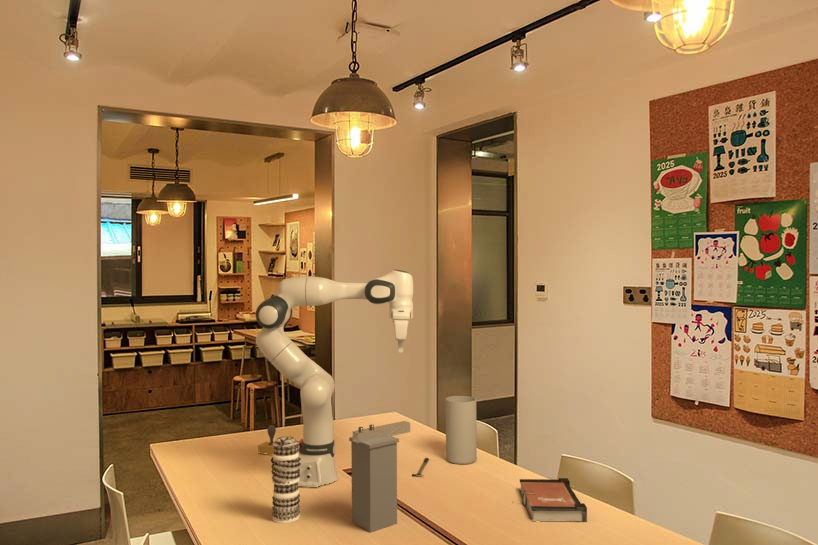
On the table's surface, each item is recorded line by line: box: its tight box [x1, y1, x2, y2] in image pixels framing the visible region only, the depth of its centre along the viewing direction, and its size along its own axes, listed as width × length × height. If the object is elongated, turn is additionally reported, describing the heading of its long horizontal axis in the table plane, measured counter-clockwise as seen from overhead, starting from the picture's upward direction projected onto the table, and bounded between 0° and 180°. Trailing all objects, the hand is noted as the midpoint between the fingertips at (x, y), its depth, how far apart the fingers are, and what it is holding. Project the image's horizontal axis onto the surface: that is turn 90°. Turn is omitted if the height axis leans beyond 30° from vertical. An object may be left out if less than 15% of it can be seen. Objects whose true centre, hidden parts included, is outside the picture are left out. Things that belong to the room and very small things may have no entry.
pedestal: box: [348, 436, 400, 533], centre depth 187 cm, size 11×11×26 cm
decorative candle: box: [270, 435, 301, 524], centre depth 191 cm, size 9×9×25 cm
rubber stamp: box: [257, 424, 277, 454], centre depth 259 cm, size 10×6×12 cm, turn 69°
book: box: [519, 477, 588, 523], centre depth 200 cm, size 26×18×5 cm
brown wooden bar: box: [352, 420, 411, 443], centre depth 188 cm, size 20×3×4 cm, turn 129°
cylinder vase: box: [445, 395, 478, 465], centre depth 248 cm, size 12×12×25 cm
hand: (400, 350), depth 225 cm, fingers open, 8 cm apart
